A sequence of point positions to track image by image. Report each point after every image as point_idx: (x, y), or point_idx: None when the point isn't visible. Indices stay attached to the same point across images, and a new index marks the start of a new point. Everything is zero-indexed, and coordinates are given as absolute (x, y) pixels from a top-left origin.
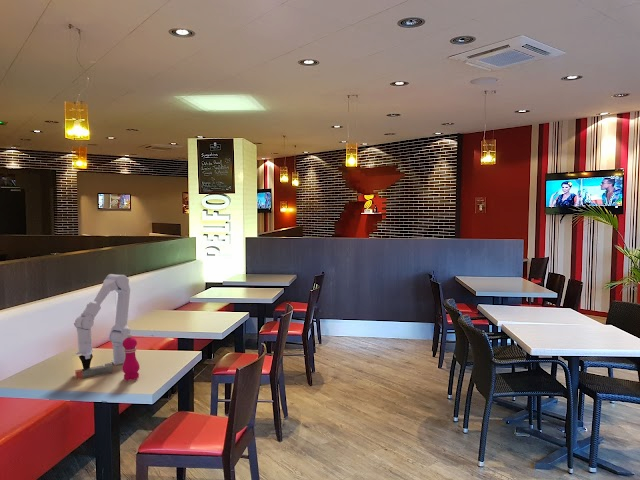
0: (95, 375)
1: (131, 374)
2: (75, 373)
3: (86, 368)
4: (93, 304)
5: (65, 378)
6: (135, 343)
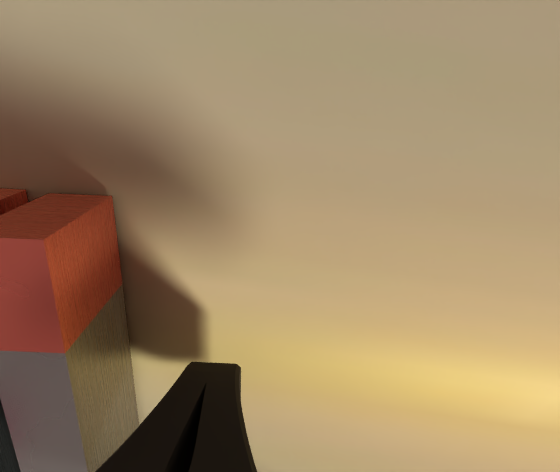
0: None
1: None
2: (32, 216)
3: (61, 433)
4: None
5: (143, 21)
6: None
